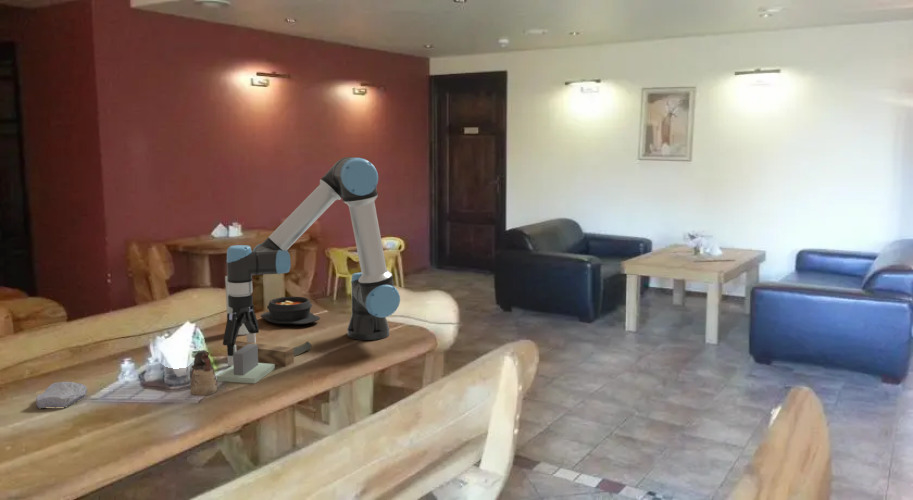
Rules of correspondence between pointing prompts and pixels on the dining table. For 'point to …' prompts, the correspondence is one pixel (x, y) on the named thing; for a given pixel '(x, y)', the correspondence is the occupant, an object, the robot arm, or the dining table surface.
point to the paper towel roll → (229, 310)
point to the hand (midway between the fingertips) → (242, 358)
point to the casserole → (290, 311)
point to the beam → (271, 353)
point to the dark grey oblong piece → (302, 348)
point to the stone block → (61, 394)
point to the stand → (246, 366)
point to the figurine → (203, 375)
